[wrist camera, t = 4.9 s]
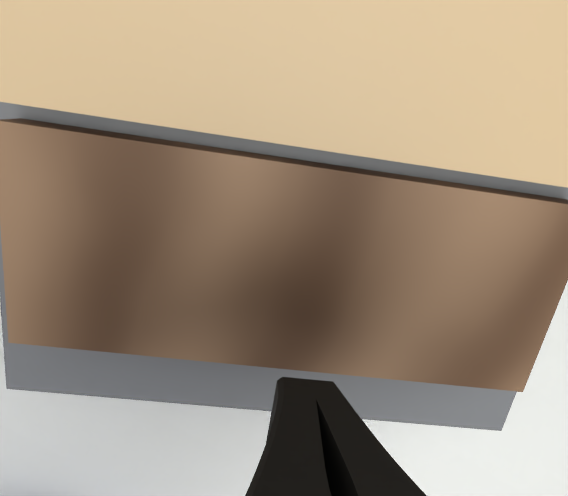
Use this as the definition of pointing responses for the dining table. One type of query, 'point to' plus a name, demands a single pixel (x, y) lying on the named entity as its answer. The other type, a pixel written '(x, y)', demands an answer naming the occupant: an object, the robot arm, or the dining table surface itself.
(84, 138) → the walnut plank
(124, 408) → the dining table surface
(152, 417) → the dining table surface
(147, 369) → the base board
